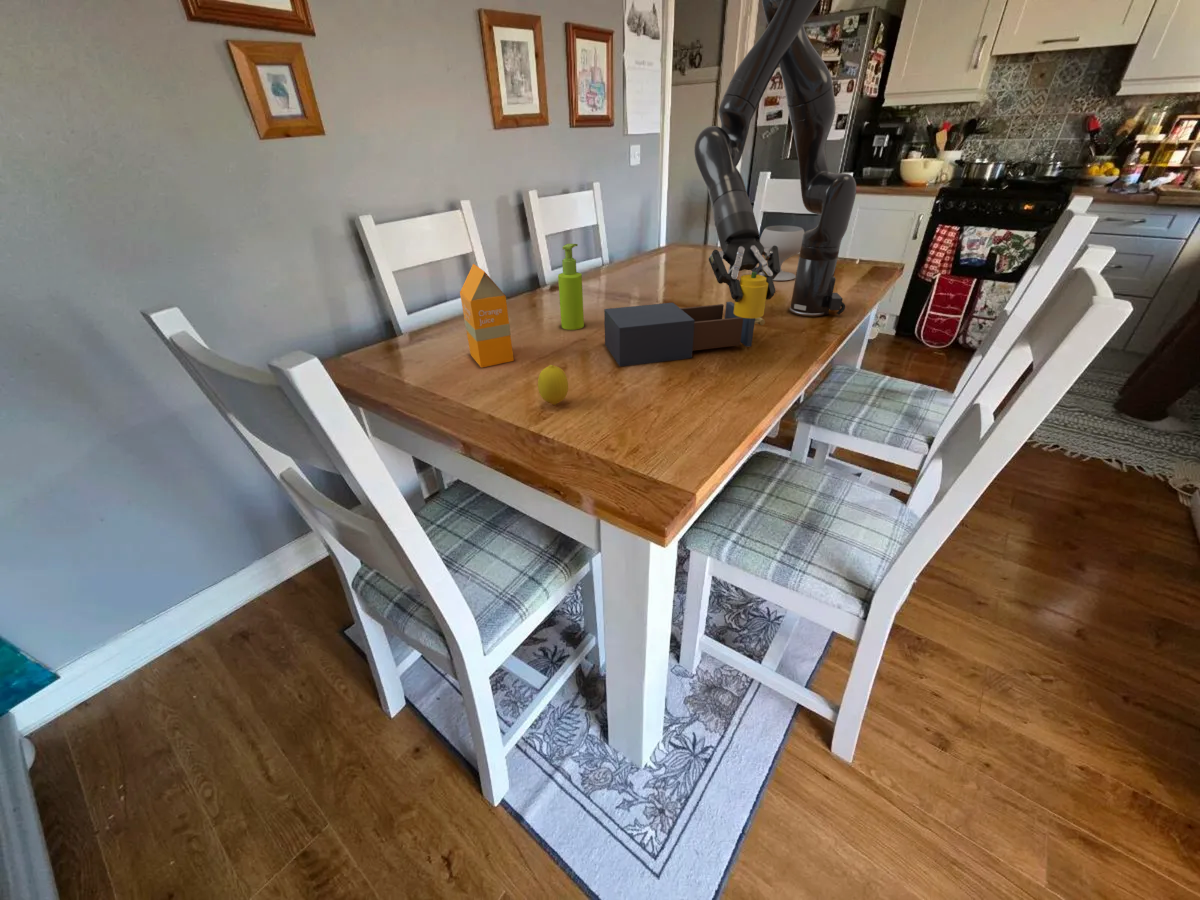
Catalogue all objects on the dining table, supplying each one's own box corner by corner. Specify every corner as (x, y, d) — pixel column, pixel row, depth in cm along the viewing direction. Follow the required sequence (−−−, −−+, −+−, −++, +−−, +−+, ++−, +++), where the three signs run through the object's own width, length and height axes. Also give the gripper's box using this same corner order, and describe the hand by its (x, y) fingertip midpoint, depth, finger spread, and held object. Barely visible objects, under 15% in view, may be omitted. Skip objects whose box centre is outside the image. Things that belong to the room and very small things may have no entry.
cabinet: (671, 337, 125) (672, 302, 120) (691, 358, 114) (694, 320, 109) (604, 344, 122) (604, 308, 117) (619, 366, 111) (619, 327, 106)
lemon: (540, 399, 98) (536, 360, 94) (568, 397, 99) (566, 358, 94) (539, 412, 94) (535, 372, 89) (569, 410, 94) (567, 370, 90)
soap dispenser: (588, 322, 136) (585, 242, 125) (579, 330, 131) (575, 248, 120) (568, 320, 138) (563, 241, 127) (558, 328, 132) (552, 247, 122)
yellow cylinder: (761, 309, 104) (767, 268, 99) (765, 318, 99) (772, 276, 94) (732, 308, 104) (737, 268, 100) (734, 318, 99) (740, 276, 95)
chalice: (756, 281, 166) (763, 232, 158) (753, 271, 178) (759, 224, 170) (801, 282, 164) (811, 232, 156) (795, 272, 175) (803, 224, 167)
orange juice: (480, 367, 112) (465, 273, 101) (469, 354, 119) (454, 265, 108) (514, 360, 115) (503, 268, 104) (502, 348, 122) (490, 260, 111)
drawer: (744, 327, 127) (747, 299, 123) (768, 344, 117) (773, 315, 113) (668, 335, 124) (669, 307, 120) (686, 353, 113) (688, 323, 110)
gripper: (707, 211, 97) (727, 291, 93) (777, 207, 99) (799, 285, 96) (694, 236, 104) (713, 311, 101) (759, 232, 107) (779, 305, 103)
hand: (754, 298), depth 98 cm, fingers closed on yellow cylinder, 6 cm apart
